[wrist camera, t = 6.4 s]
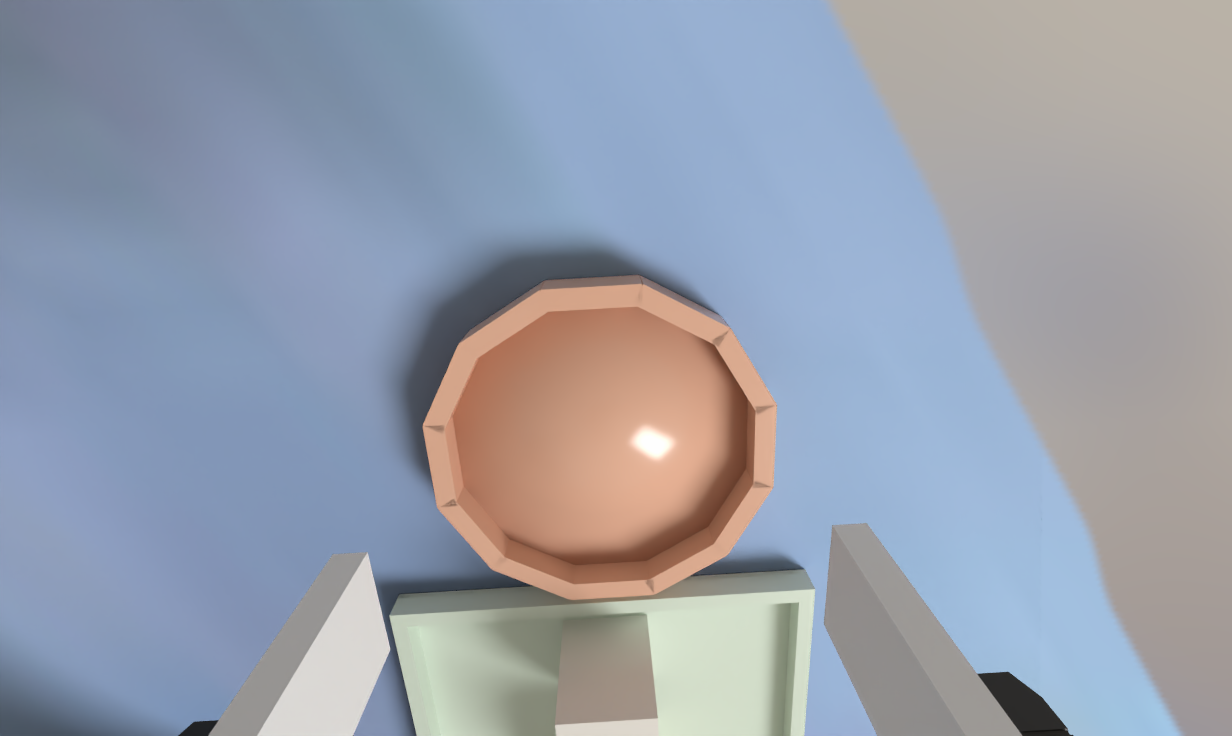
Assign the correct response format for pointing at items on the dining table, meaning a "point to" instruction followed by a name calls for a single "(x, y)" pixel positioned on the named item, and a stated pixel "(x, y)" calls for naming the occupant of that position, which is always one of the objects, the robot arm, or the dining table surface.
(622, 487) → the bowl
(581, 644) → the pale grey block
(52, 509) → the dining table surface
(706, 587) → the parts tray
